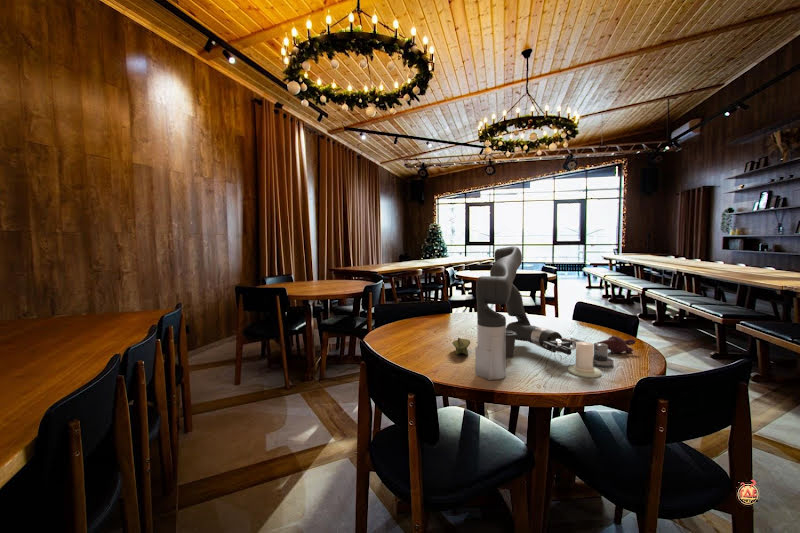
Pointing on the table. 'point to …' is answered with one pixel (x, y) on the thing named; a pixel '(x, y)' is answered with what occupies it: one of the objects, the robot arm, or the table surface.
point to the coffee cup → (510, 343)
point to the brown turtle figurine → (618, 344)
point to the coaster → (590, 375)
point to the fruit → (461, 346)
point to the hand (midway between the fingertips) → (580, 350)
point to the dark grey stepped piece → (601, 355)
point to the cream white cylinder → (584, 357)
